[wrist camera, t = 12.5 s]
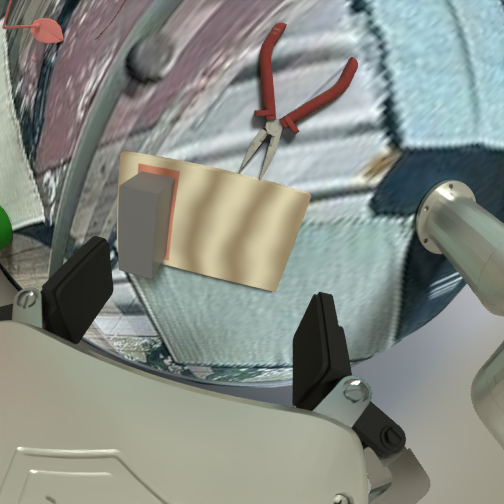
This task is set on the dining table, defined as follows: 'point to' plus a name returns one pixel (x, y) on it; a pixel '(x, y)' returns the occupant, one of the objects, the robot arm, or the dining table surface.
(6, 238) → the green cylindrical container
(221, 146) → the dining table surface
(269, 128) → the pliers
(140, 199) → the block
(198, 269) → the board
